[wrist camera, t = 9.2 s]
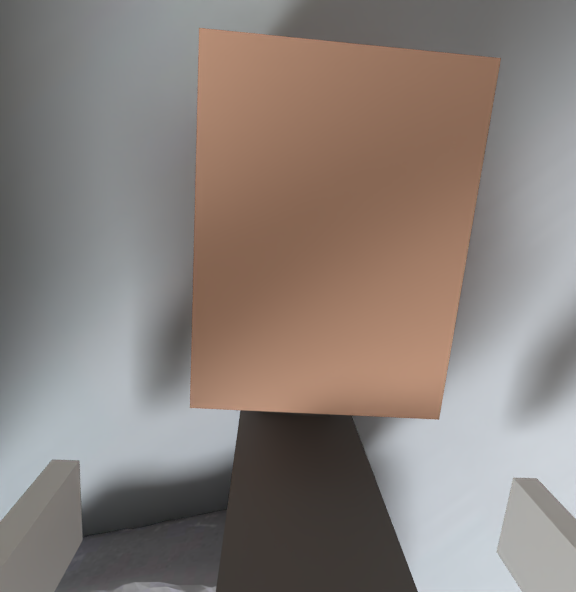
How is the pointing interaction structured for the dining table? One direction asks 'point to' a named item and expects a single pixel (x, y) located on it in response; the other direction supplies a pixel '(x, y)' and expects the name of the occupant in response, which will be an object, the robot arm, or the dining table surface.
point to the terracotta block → (326, 284)
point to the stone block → (150, 558)
